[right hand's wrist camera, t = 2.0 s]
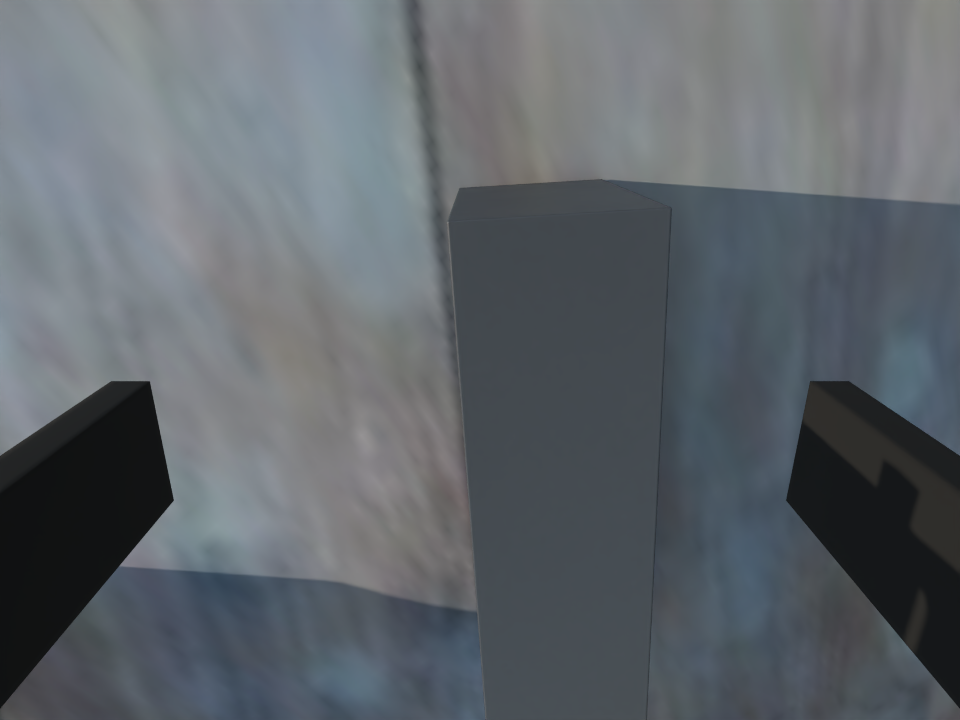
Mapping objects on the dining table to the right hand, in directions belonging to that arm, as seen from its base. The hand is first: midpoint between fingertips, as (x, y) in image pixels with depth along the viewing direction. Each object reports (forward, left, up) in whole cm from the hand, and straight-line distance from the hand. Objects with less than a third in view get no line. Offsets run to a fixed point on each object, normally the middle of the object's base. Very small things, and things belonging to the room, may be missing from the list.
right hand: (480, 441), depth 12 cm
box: (+2, +9, -17) cm, 20 cm away
